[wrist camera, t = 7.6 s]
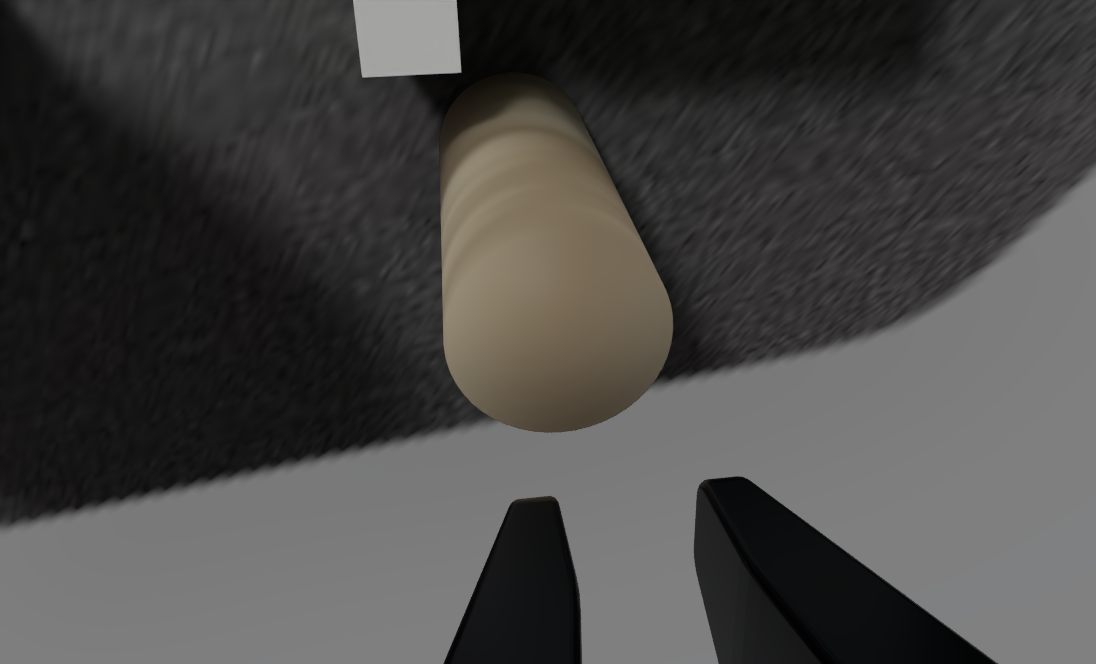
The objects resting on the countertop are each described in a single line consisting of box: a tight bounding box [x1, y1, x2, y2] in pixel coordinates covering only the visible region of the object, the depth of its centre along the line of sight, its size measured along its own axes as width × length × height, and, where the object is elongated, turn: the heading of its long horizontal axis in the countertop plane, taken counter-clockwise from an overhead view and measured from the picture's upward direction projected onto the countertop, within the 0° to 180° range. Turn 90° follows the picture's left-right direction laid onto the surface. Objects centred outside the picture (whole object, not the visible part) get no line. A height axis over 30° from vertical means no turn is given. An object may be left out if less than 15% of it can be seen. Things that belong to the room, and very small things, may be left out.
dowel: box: [439, 72, 673, 432], centre depth 15 cm, size 3×3×8 cm
